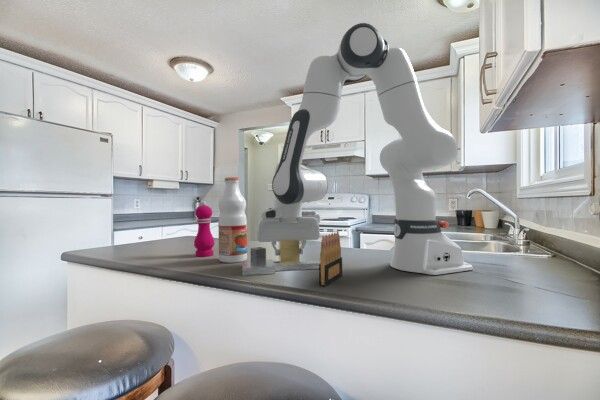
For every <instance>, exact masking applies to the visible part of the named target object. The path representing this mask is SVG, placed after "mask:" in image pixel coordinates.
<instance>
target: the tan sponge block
mask: <svg viewBox="0 0 600 400" xmlns="http://www.w3.org/2000/svg"><path fill="white" fill-rule="evenodd" d="M299 248H300V241H299V240H287V241H278V249H279V250H280V255H278V263H285V262H301V258H300V255H301V254H300V250H299Z"/></svg>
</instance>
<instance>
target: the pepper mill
mask: <svg viewBox="0 0 600 400" xmlns="http://www.w3.org/2000/svg"><path fill="white" fill-rule="evenodd" d="M194 215H195V217H197V218H196V223H197V226H198V227H197V228H198V230H197V233H196V236H195V238H194V243H193V246H194V248H195V249H196V251H195V257H198V258H207V257H212V256H214V249H213V248H214V246H215V239H214V236H213V234H212V232H211V226H210V225H211V223H212V218H211V217H212V216H213V210H212V208H211V206H209V205H207V202H206V200H205V201H204V200H203V201H202V202H200V205H199V206H197V207H196V209H195V214H194Z"/></svg>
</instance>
